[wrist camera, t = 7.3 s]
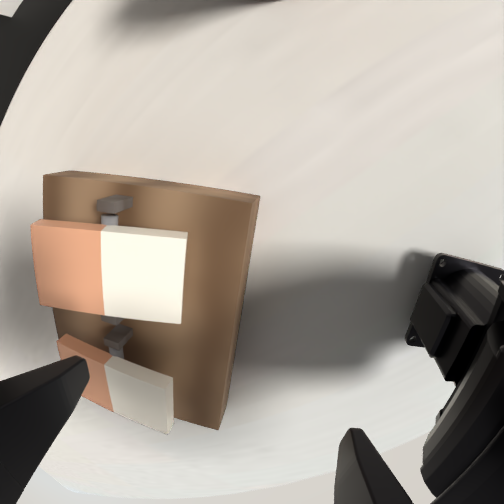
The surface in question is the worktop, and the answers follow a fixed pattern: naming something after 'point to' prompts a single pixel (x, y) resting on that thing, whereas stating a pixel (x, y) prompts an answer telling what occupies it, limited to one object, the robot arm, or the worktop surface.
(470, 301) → the robot arm
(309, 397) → the worktop surface
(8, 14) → the white and black block
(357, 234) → the worktop surface
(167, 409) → the block
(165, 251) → the rocker
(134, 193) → the switch unit
